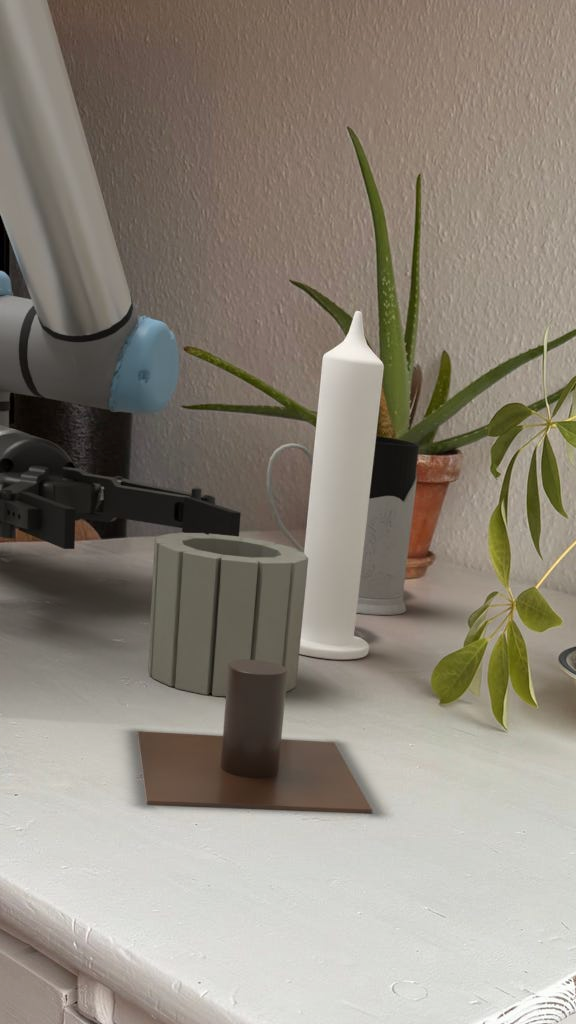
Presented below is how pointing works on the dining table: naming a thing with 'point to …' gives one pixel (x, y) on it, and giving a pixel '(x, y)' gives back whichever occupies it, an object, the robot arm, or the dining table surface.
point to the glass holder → (379, 524)
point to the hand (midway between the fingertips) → (157, 530)
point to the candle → (340, 496)
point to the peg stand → (249, 756)
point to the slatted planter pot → (223, 608)
